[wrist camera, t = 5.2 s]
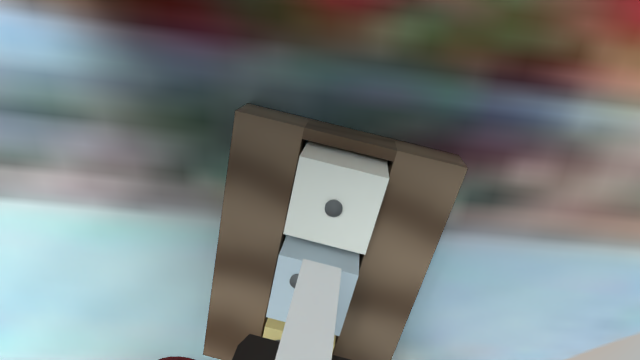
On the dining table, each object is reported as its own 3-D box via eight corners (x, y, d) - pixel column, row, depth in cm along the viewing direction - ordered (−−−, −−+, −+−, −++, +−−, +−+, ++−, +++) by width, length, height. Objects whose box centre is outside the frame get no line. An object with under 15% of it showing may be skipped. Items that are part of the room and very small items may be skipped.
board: (247, 103, 24) (235, 110, 22) (458, 155, 24) (467, 168, 22) (214, 331, 32) (203, 354, 30) (374, 373, 32) (374, 400, 29)
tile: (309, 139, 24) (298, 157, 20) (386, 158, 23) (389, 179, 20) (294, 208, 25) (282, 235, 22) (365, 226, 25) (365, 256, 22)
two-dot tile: (289, 227, 26) (278, 256, 23) (359, 244, 26) (358, 277, 22) (277, 283, 28) (265, 319, 25) (342, 300, 28) (339, 338, 24)
